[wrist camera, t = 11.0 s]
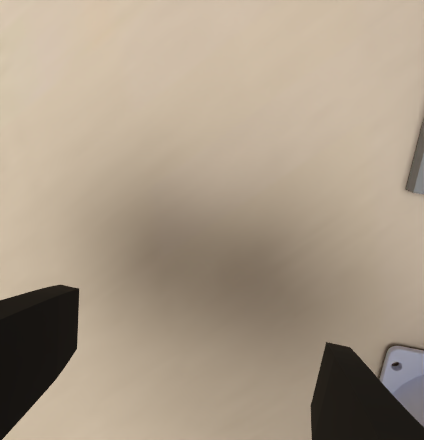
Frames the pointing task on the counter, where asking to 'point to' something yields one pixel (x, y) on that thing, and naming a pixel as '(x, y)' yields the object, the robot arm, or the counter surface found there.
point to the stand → (417, 167)
